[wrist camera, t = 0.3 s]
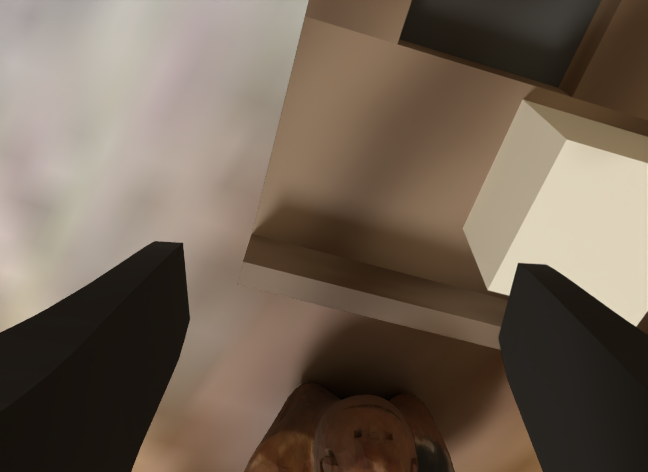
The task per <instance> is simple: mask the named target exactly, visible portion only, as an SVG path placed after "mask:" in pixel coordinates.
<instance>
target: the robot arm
mask: <svg viewBox="0 0 648 472" xmlns="http://www.w3.org/2000/svg"><path fill="white" fill-rule="evenodd" d="M189 321H190V315H189V304H188V293H187V283H186V272H185V261H184V250H183V243H174V242H158V241H155V242H153V243H151V244H149V245H147V246H146V247H144V248H143V249H141V250H140V251H138V252H137V253H135V254H133V255H132V256H131V257H129V258H128V259H126V260H125V261H123V262H122V263H120V264H119V265H117V266H116V267H114V268H113V269H111V270H109V271H108V272H106V273H105V274H103V275H102V276H100V277H99V278H97V279H96V280H94V281H93V282H91V283H90V284H88V285H86V286H85V287H83V288H81V289H80V290H78V291H76V292H75V293H73V294H71V295H70V296H68V297H66V298H65V299H63V300H61V301H60V302H58V303H56V304H54V305H53V306H51V307H49V308H48V309H46V310H44V311H42V312H40V313H39V314H37V315H35V316H33V317H31V318H29V319H27V320H25V321H23V322H21V323H19V324H17V325H15V326H13V327H11V328H9V329H7V330H5V331H3V332H1V333H0V472H131V471H132V468H133V465H134V463H135V460H136V457H137V455H138V452H139V450H140V447H141V445H142V443H143V440H144V438H145V436H146V433H147V431H148V429H149V427H150V424H151V422H152V420H153V417H154V415H155V413H156V411H157V408H158V406H159V404H160V401H161V399H162V397H163V395H164V392H165V390H166V388H167V385H168V383H169V381H170V378H171V376H172V374H173V372H174V369H175V367H176V364H177V362H178V360H179V357H180V353H181V350H182V346H183V343H184V339H185V336H186V332H187V328H188V324H189ZM498 339H499V344H500V349H501V354H502V359H503V363H504V367H505V371H506V375H507V379H508V382H509V385H510V387H511V390H512V393H513V395H514V398H515V401H516V403H517V406H518V408H519V411H520V414H521V416H522V419H523V421H524V424H525V427H526V429H527V432H528V434H529V437H530V439H531V442H532V445H533V447H534V450H535V452H536V455H537V457H538V460H539V463H540V465H541V468H542V470H543V472H648V334H646V333H644V332H643V331H642V330H640V329H639V328H637V327H636V326H634V325H633V324H631V323H630V322H628V321H627V320H625V319H624V318H623V317H621V316H620V315H618V314H617V313H615V312H614V311H613V310H611V309H610V308H608V307H607V306H606V305H604V304H603V303H601V302H600V301H599V300H597V299H596V298H595V297H593V296H592V295H590V294H589V293H588V292H586V291H585V290H584V289H582V288H581V287H579V286H578V285H577V284H575V283H574V282H572V281H571V280H570V279H568V278H567V277H565V276H564V275H563V274H561V273H560V272H558V271H557V270H555V269H553V268H552V267H550V266H548V265H546V264H530V263H518V265H517V268H516V272H515V276H514V280H513V283H512V287H511V291H510V295H509V299H508V302H507V306H506V310H505V314H504V317H503V321H502V325H501V329H500V332H499V336H498Z"/></svg>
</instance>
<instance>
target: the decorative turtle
mask: <svg viewBox="0 0 648 472" xmlns="http://www.w3.org/2000/svg"><path fill="white" fill-rule="evenodd" d="M244 472H455V471H454V468H453V464H452V461H451V457H450V455H449V452H448V450H447V448H446V445H445V443H444V440H443V438H442V436H441V434H440V432H439V431H438V429H437V427H436V425H435V423H434V420H433V417H432V416H431V414H430V412H429V411H428V409H427V408H426V406H425V404H424V403H423V402H422V401H421V400H420V399H418V398H417V397H416V396H415V395H412V394H400V395H397V396H395V397H394V398H392V399H390V400H389V401H387V400H385V399H383V398H381V397H378V396H375V395H369V394H366V395H356V396H352V397H348V398H345V399H343V400H341V399H339V398H337V397H336V396H334V395H332V394H331V393H330V392H329V391H327V390H326V389H325V388H324V387H322V386H320V385H318V384H314V383H307V384H303V385H301V386H299V387H298V388H296V389H295V390H294V391H293V393H292V394H291V395H290V396H289V397H288V399H287V400H286V402H285V404H284V406H283V407H282V409H281V411H280V412H279V414H278V416H277V417H276V419H275V421H274V422H273V424H272V426H271V427H270V429H269V430H268V432H267V433H266V435H265V437H264V438H263V440H262V441H261V443H260V444H259V446H258V447H257V449H256V450H255V452H254V454H253V455H252V457H251V459H250V460H249V463H248V465H247V467H246V469H245V471H244Z"/></svg>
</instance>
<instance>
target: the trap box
mask: <svg viewBox="0 0 648 472" xmlns="http://www.w3.org/2000/svg"><path fill="white" fill-rule="evenodd" d="M522 100H526V101H530V102H533V103H536V104H540V105H543V106H546V107H550V108H553V109H556V110H560V111H563V112H566V113H570V114H573V115H576V116H580V117H583V118H586V119H590V120H593V121H596V122H600V123H603V124H606V125H610V126H613V127H616V128H620V129H623V130H626V131H630V132H633V133H636V134H640V135H643V136H646V137H648V0H309V2H308V6H307V10H306V14H305V18H304V22H303V27H302V31H301V35H300V39H299V43H298V47H297V51H296V55H295V59H294V63H293V67H292V72H291V76H290V80H289V84H288V88H287V92H286V96H285V100H284V104H283V108H282V112H281V117H280V121H279V125H278V129H277V133H276V137H275V141H274V145H273V149H272V153H271V157H270V162H269V166H268V170H267V174H266V178H265V182H264V186H263V190H262V194H261V198H260V202H259V207H258V211H257V215H256V219H255V223H254V227H253V231H252V235H251V238H250V241H249V244H248V247H247V251H246V254H245V257H244V260H243V264H242V268H241V272H240V276H239V280H238V284H237V285H241V286H245V287H249V288H253V289H257V290H261V291H265V292H270V293H274V294H278V295H282V296H286V297H290V298H294V299H298V300H302V301H306V302H310V303H314V304H318V305H322V306H326V307H330V308H334V309H338V310H342V311H346V312H350V313H354V314H358V315H362V316H366V317H370V318H374V319H378V320H382V321H386V322H390V323H394V324H398V325H403V326H407V327H411V328H415V329H419V330H423V331H427V332H431V333H435V334H439V335H443V336H447V337H451V338H455V339H459V340H463V341H467V342H471V343H475V344H479V345H483V346H487V347H491V348H495V349H499V350H501V349H500V344H499V339H498V336H499V332H500V329H501V325H502V321H503V317H504V314H505V310H506V306H507V302H508V299H509V296H508V295H505V294H501V293H497V292H493V291H489V290H487V287H486V285H485V282H484V280H483V278H482V275H481V273H480V270H479V268H478V265H477V263H476V260H475V258H474V255H473V253H472V250H471V248H470V245H469V243H468V240H467V238H466V235H465V233H464V230H463V227H464V224H465V222H466V220H467V218H468V216H469V214H470V212H471V209H472V207H473V205H474V203H475V201H476V199H477V196H478V194H479V192H480V190H481V188H482V186H483V184H484V181H485V179H486V177H487V175H488V173H489V171H490V169H491V166H492V164H493V162H494V160H495V158H496V156H497V153H498V151H499V149H500V147H501V145H502V143H503V141H504V138H505V136H506V134H507V132H508V130H509V128H510V125H511V123H512V121H513V119H514V117H515V115H516V113H517V110H518V108H519V106H520V104H521V102H522ZM636 327H637V328H639V329H640V330H642V331H643V332H644V333H646V334H648V311H647V313H646V314H645V315H644V317H643V318H642V320H641V321H640V322H639V324H638V325H637V326H636Z"/></svg>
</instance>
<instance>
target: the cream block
mask: <svg viewBox="0 0 648 472" xmlns="http://www.w3.org/2000/svg"><path fill="white" fill-rule="evenodd" d="M463 230H464V233H465V235H466V238H467V240H468V243H469V245H470V248H471V250H472V253H473V255H474V258H475V260H476V263H477V265H478V268H479V270H480V273H481V275H482V278H483V280H484V282H485V285H486V287H487V290H489V291H493V292H497V293H501V294H505V295H508V296H509V295H510V291H511V287H512V283H513V280H514V276H515V272H516V268H517V265H518V263H530V264H546V265H548V266H550V267H552V268H553V269H555V270H557V271H558V272H560V273H561V274H563V275H564V276H565V277H567V278H568V279H570V280H571V281H572V282H574V283H575V284H577V285H578V286H579V287H581V288H582V289H584V290H585V291H586V292H588V293H589V294H590V295H592V296H593V297H595V298H596V299H597V300H599V301H600V302H601V303H603V304H604V305H606V306H607V307H608V308H610V309H611V310H613V311H614V312H615V313H617V314H618V315H620V316H621V317H623V318H624V319H625V320H627V321H628V322H630V323H631V324H633V325H634V326H637V325H638V324H639V322H640V321H641V320H642V318H643V317H644V315H645V314H646V313H647V311H648V137H646V136H643V135H640V134H636V133H633V132H630V131H626V130H623V129H620V128H616V127H613V126H610V125H606V124H603V123H600V122H596V121H593V120H590V119H586V118H583V117H580V116H576V115H573V114H570V113H566V112H563V111H560V110H556V109H553V108H550V107H546V106H543V105H540V104H536V103H533V102H530V101H526V100H522V102H521V104H520V106H519V108H518V110H517V113H516V115H515V117H514V119H513V121H512V123H511V125H510V128H509V130H508V132H507V134H506V136H505V138H504V141H503V143H502V145H501V147H500V149H499V151H498V153H497V156H496V158H495V160H494V162H493V164H492V166H491V169H490V171H489V173H488V175H487V177H486V179H485V181H484V184H483V186H482V188H481V190H480V192H479V194H478V196H477V199H476V201H475V203H474V205H473V207H472V209H471V212H470V214H469V216H468V218H467V220H466V222H465V224H464V227H463Z"/></svg>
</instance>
